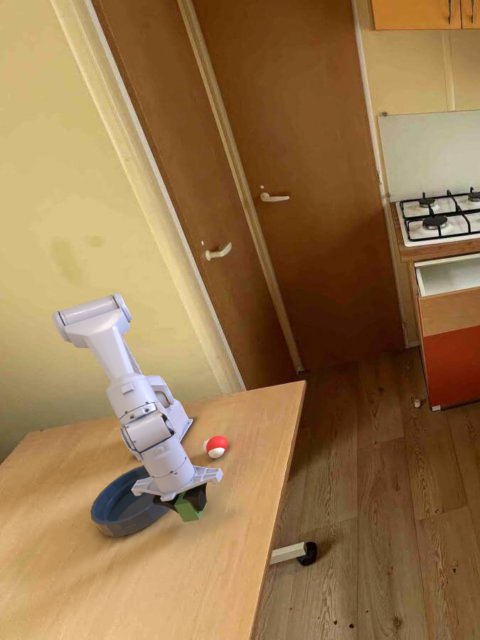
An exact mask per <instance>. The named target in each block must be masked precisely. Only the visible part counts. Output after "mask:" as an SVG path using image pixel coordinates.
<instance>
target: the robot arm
mask: <svg viewBox="0 0 480 640" xmlns="http://www.w3.org/2000/svg"><path fill="white" fill-rule="evenodd" d="M51 320H52V322H53V324H54V326H55V329H56V331H58V334H59V335H60V337H61V338H62V340H63V341H64V342H67V343H70V344H72V345H73V347H75V348H79V349H89V350H90V352H91V354H92V355H93V356H94V358H95V359H96V361H97V362H98V364H99V366H100V368H101V369H102V370H103V372H104V373H105V375H106V377H107V378H108V380H109V381H110V383H109V385H108V386H107V388H106V390H105V395H106V397H107V399H108V401H109V403H110V405H111V408H112V410H113V413H114V414H115V416H116V418H117V420H118V422H119V424H120V426H121V428H119V434H120V436H121V438H122V441H123V443H124V445H125V446H126V448H127V449H128V451H129V452H130V453H131V454H132V455H133V456H135V458H136V459H137V461H138V462H139V463H140V462H141V464H142V465H144V467H145V468H146V470H147V471H148V473H149V475H150V476H151V477H149V478H146V479H142V480H137V482H136V483H135V485H134V486H133V488H132V489H131V490H132V492H133V493H134V495H135V496H139V495H142V494H143V492H145V493H150V494H155V497H154V498H153V500H152V502H153V504H156V505H162V506H166V507H168V508H169V509H170V510H172V511H174V512H175V513H177V514H179V513H178V511H177V509H176V508H175V506H174V505H175V503H176V501H177V499H178V497H179V495H180V493H181V492H184V491H186V492H185V494H184V496H183V499H184V500H187V501H189V502H191V503H192V504H193V506H194V507H195V509H196V510H197V511H203V509H204V507H205V505H206V503H207V502H208V500H207V499H208V498H207V485H208V483H213V485H217V484H220V483H221V481H222V479H223V477H224V473H223V471H222V469H221V467H219V468H218V467H217V468H212V467H211V468H210V467H206V466H200V465H194V464H193V463H192V462H191V460H190V458H189V456H188V454H187V451H185V448H184V447H183V445H182V443H181V441H182V440H183V439H184V437H185V435H186V434H187V432H188V430H189V429H190V427H191V425H192V424H193V422H194V419H193V418H189V417H188V414H187V413H186V410H185V409H184V406H183V405H182V403H181V402H180V401H179V400H178V399H176V398H174V396H173V393H172V392H171V390H170V389H169V386H168V385H167V382H166V381H165V380H164V378H163V376H160V374H153V375H152V374H151V375H144V373H143V372H142V370H141V368H140V366H139V365H138V363H137V361H136V359H135V357H134V355H133V353H132V351H131V349H130V348H129V346H128V344H127V342H126V340H125V339H124V337H123V336H124V335H125V334H126V333H128V331H129V330H130V329H131V324H130V323H131V322H132V320H133V316H132V314H131V312H130V310H129V308H128V306H127V304H126V303H125V299H124V297H123V296H122V294H120V293H117V292H114V293H112V294H109V295H107V296H103V297H100V298H97V299H94V300H91V301H88V302H87V301H86V302H84V303H81V304H78V305H74V306H71V307H68V308H64V309H60V310H56V311H53V313H52V315H51ZM207 504H208V503H207ZM206 506H207V505H206ZM205 508H206V507H205ZM204 510H205V509H204ZM203 512H204V511H203Z"/></svg>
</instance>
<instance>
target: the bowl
mask: <svg viewBox="0 0 480 640" xmlns="http://www.w3.org/2000/svg"><path fill="white" fill-rule="evenodd" d="M149 477H151V476H150V475H149V473H148V471H147V470H146V468H145V467H144V465H143V464H141V465H139V466H137V467H134V468H131V469H130V470H128V471H126V472H124V473H122V474H121V475H119V476H118V477H117V478H115V479H113V481H111V482H110V483H108V485H107V486H105V487H104V489H102V490H101V491H100V492H99V493H98V495H97V497H96V498H95V499H94V500H93V502H92V505H91V508H90V511H89V513H90V518H91V521H92V522H93V523H94V524H95V526H96V527H97V529H99V531H100V532H101V533H102V534H103V535H105V536H108V537H112V538H118V537H123V536H125V537H126V536H128V535H131V534H134V533H136V532H139V531H141V530H143V529H144V528H146V527H148V526H150V525H152V524H153V523H154V522H156V521H157V520H158V519H160V518H161V517H162V516H164V514H165V513H167V511H169V509H170V508H168V507H166V506H162V505H156V504H153V502H152V500H153V498H154V497H155V494H150V493H145V492H143V494H142V495H139V496H135V495H134V493H133V492H132V490H131V489H132V488H133V486H134V485H135V483H136V482H137V480H142V479H146V478H149Z"/></svg>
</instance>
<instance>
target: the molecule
mask: <svg viewBox="0 0 480 640" xmlns="http://www.w3.org/2000/svg"><path fill="white" fill-rule="evenodd" d="M228 442H229V441H228V439H227V438H226V437H225V436H223V435H215V436H212V437H211V438H208V439H206V440H205V441H204V443H203V444H202V450H203V451H204V452H205V453H207V454H208V456H209V457H210V458H212V459H218V458H220V457H221V456H222V455H223V454H224V453H225V451H226V449H227V447H228V445H229V443H228Z"/></svg>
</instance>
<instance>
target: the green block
mask: <svg viewBox="0 0 480 640" xmlns="http://www.w3.org/2000/svg"><path fill="white" fill-rule="evenodd" d="M185 492H186V491H184V492H181V493H180V495H179V497H178V499H177V501H176V503H175V505H174V506H175V508H176V509H177V511H178V513H177V514H178V515H179V516H180V518H181V519H182V521H183V522H184V523H187V522H188V523H189V522H193V521H199V520H201V517H202V515H203V513H204V511H205V509H206V508H207V505H208V503H209V502H208V501H207V503H206V505H205V507H204V509H203V511H197V510H196V509H195V507H194V506H193V504H192V503H191V502H189V501H187V500H184V499H183V496H184V494H185Z"/></svg>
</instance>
